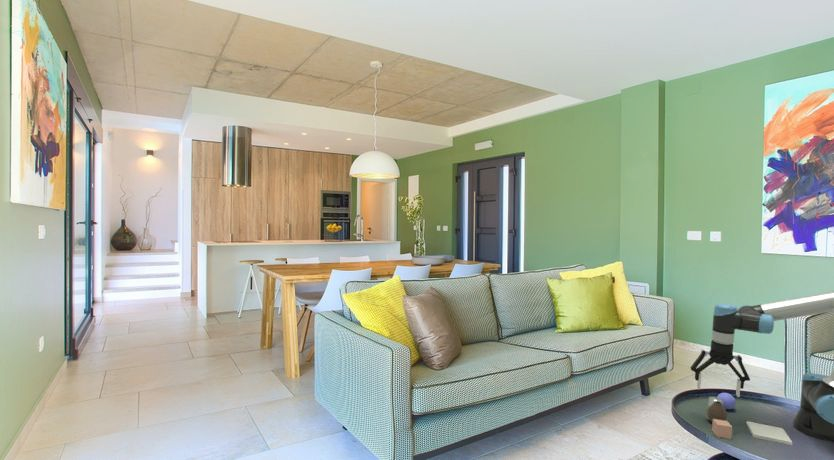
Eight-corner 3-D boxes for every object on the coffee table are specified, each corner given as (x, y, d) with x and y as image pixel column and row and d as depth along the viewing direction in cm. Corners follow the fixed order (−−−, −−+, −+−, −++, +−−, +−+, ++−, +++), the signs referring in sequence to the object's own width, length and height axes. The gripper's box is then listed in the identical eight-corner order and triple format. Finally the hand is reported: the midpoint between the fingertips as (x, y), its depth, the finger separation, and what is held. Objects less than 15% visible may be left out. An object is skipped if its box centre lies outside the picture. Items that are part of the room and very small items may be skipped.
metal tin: (720, 411, 194) (721, 398, 194) (722, 416, 190) (723, 402, 189) (707, 408, 196) (708, 395, 196) (709, 413, 192) (710, 400, 192)
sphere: (730, 413, 192) (731, 398, 192) (712, 406, 199) (714, 391, 198) (738, 410, 196) (739, 395, 195) (721, 403, 202) (722, 389, 202)
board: (782, 431, 178) (782, 428, 178) (792, 445, 167) (792, 442, 167) (746, 423, 183) (746, 421, 183) (753, 437, 173) (753, 434, 173)
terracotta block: (726, 433, 175) (727, 420, 175) (731, 439, 171) (732, 426, 170) (711, 430, 177) (712, 418, 177) (716, 437, 172) (717, 424, 172)
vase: (729, 427, 180) (731, 406, 179) (711, 425, 181) (712, 404, 180) (721, 419, 186) (723, 399, 186) (703, 417, 188) (705, 397, 187)
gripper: (757, 344, 180) (752, 395, 181) (686, 334, 190) (682, 382, 192) (762, 349, 173) (757, 402, 174) (688, 338, 184) (683, 388, 185)
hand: (717, 391), depth 183 cm, fingers open, 13 cm apart
